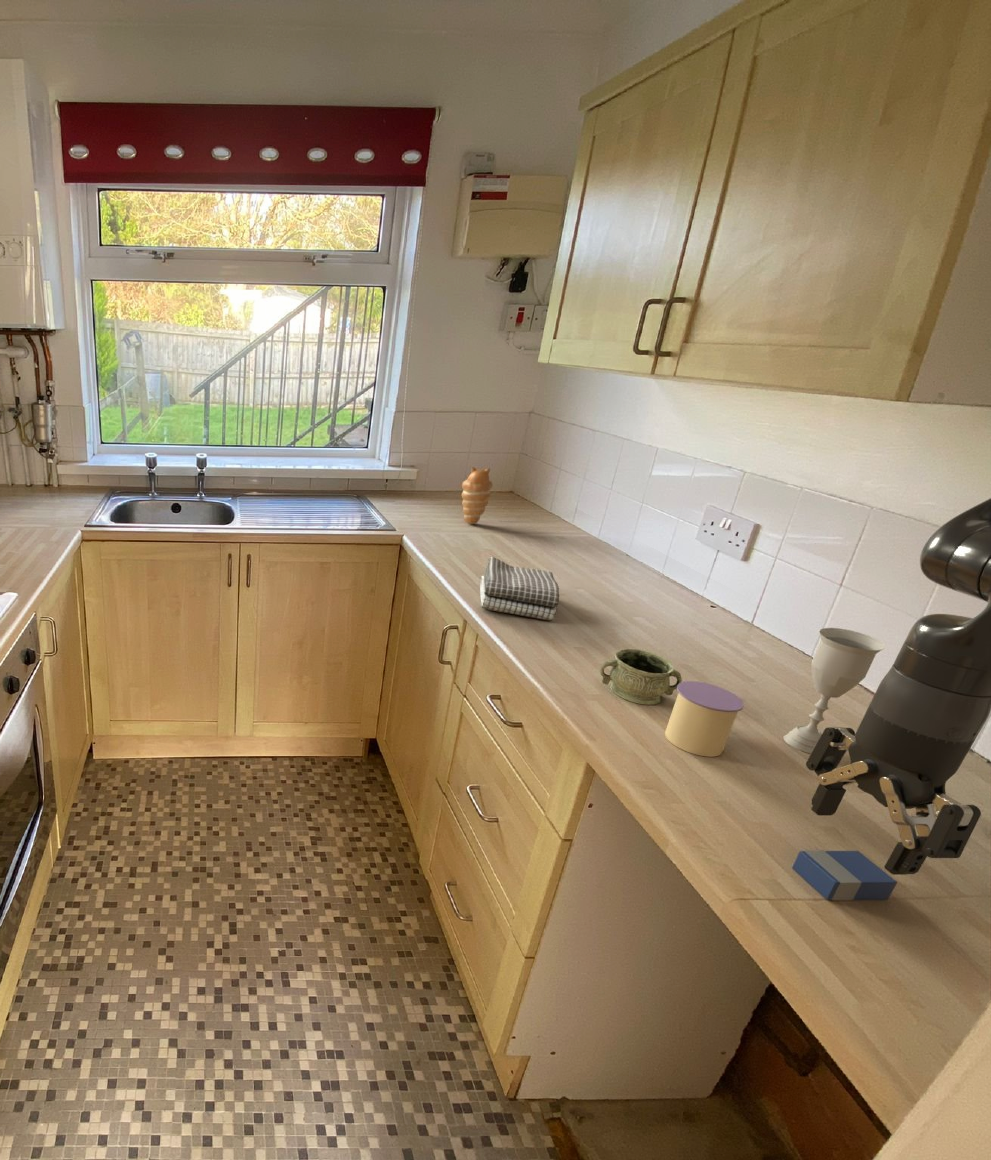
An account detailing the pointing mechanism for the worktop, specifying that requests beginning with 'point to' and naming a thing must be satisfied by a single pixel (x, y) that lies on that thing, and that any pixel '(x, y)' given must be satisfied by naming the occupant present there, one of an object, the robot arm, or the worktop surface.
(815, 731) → the chalice
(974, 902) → the worktop surface
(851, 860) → the block
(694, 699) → the yogurt pot
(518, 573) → the towel
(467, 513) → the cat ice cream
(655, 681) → the vessel
